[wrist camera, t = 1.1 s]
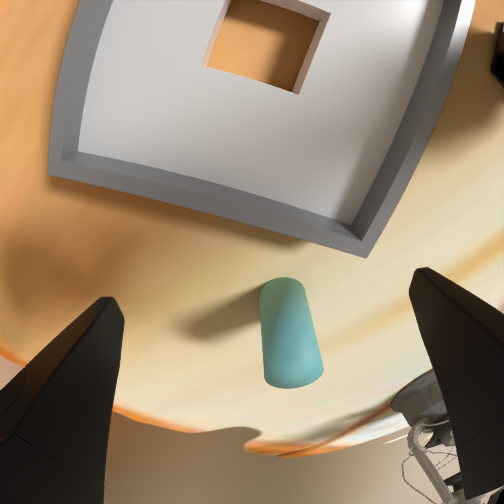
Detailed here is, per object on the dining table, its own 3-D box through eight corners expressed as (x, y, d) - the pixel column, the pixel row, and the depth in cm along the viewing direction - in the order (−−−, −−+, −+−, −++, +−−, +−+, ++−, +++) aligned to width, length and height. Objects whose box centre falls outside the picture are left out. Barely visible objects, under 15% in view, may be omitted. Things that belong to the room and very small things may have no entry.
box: (438, 1, 10) (476, -6, 7) (345, 224, 21) (366, 258, 17) (167, -91, 6) (151, -120, 3) (81, 152, 17) (47, 174, 13)
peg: (312, 283, 24) (334, 361, 17) (293, 315, 26) (307, 390, 19) (268, 272, 23) (278, 354, 16) (252, 306, 25) (256, 385, 19)
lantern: (383, 423, 47) (409, 542, 22) (388, 385, 36) (430, 555, 12) (456, 392, 44) (491, 502, 19) (481, 343, 34) (540, 488, 9)
